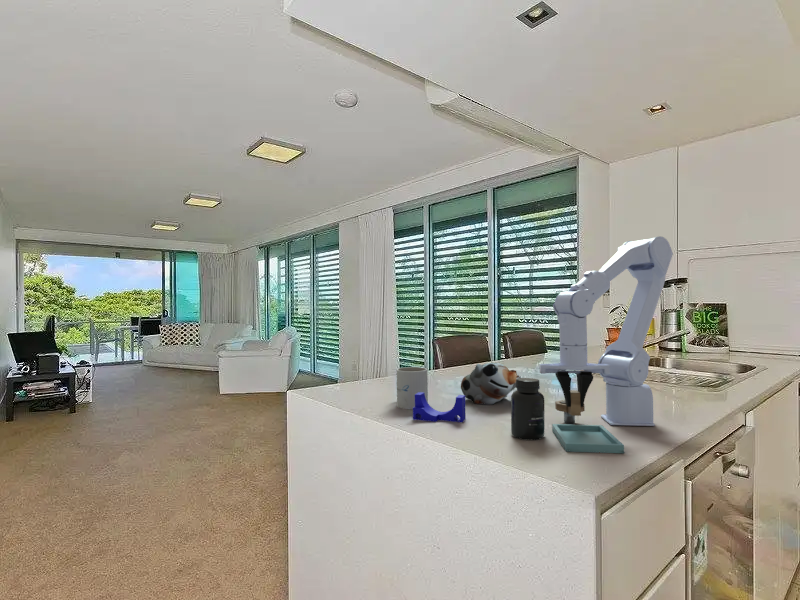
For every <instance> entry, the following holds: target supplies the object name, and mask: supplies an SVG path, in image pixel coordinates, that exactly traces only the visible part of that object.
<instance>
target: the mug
mask: <svg viewBox="0 0 800 600" xmlns="http://www.w3.org/2000/svg"><path fill="white" fill-rule="evenodd" d="M428 380H429V379H428V368H426V367H419V366H417V367H416V366H408V367H405V366H404V367H399V368H396V406H397V408H400V409H403V410H405V409H406V410H413V408H414V407H415V394H417V393H418V392H424V393H425V398H426V401H427V403H428V404H429V392H428V391H429V390H428V388H429V387H428V382H429V381H428Z"/></svg>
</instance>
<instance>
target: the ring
mask: <svg viewBox="0 0 800 600" xmlns="http://www.w3.org/2000/svg"><path fill="white" fill-rule="evenodd" d="M570 394H571V407H568V406H567V405H566V404H561V401H565V399H563V400H556V401H555V402H554V406H555V410H556V411H558V412H563V413H564V412H568V413H569V414H570V415H571V416H575V417H576V416H577V417H579V416H582V413H583V412H585V411H586V410H585V404H584V405H583V407H581V403H580V392H578V389H577V390H576V389H574V390H573V389H572V390H570Z"/></svg>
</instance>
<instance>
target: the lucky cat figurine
mask: <svg viewBox="0 0 800 600" xmlns="http://www.w3.org/2000/svg"><path fill="white" fill-rule="evenodd" d="M508 368H509V367H507V366H505V365H504V364H502V363H498V362H488V363H484V364H480V363H477V364H476V365H475V367H474V369H473V370H472V371H471V372H470V374H467V375H465V376H464V377H463V378H462V379H461V382H460V383H461V384H460V389H461V391H462V395H465V399H468V400H471V402H472V403H473V404H475V405H489V406H490V405H492V406H493V405H494V404H495V403H498V402H500V401H501V400H503V399H506V398H507V397H508V395H509V394H510V393H511V392H512V391H513V390H515V388H516V379H518V378H522V376H520V375H519V374H518V373H517V370H514V369H508ZM516 389H517V388H516Z"/></svg>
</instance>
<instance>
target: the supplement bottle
mask: <svg viewBox="0 0 800 600" xmlns="http://www.w3.org/2000/svg"><path fill="white" fill-rule="evenodd" d="M540 388H541V387H540V380H539V379H538V378H533V377H531V378H530V377H521V378H518V379H516V390H515V391H513V392H512V394H511V396H510V409H511V410H510V418H511V419H510V420H511V421H510V422H511V423H510V431H511V432H510V433H511V435H512V436H513V437H514V438H517V439H520V440H526V441H538V440H539V441H540V440H542V439H543V438H544V437H545V430H546V429H545V396H544V395H543V394H542V392H540V391H539V390H540Z"/></svg>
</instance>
